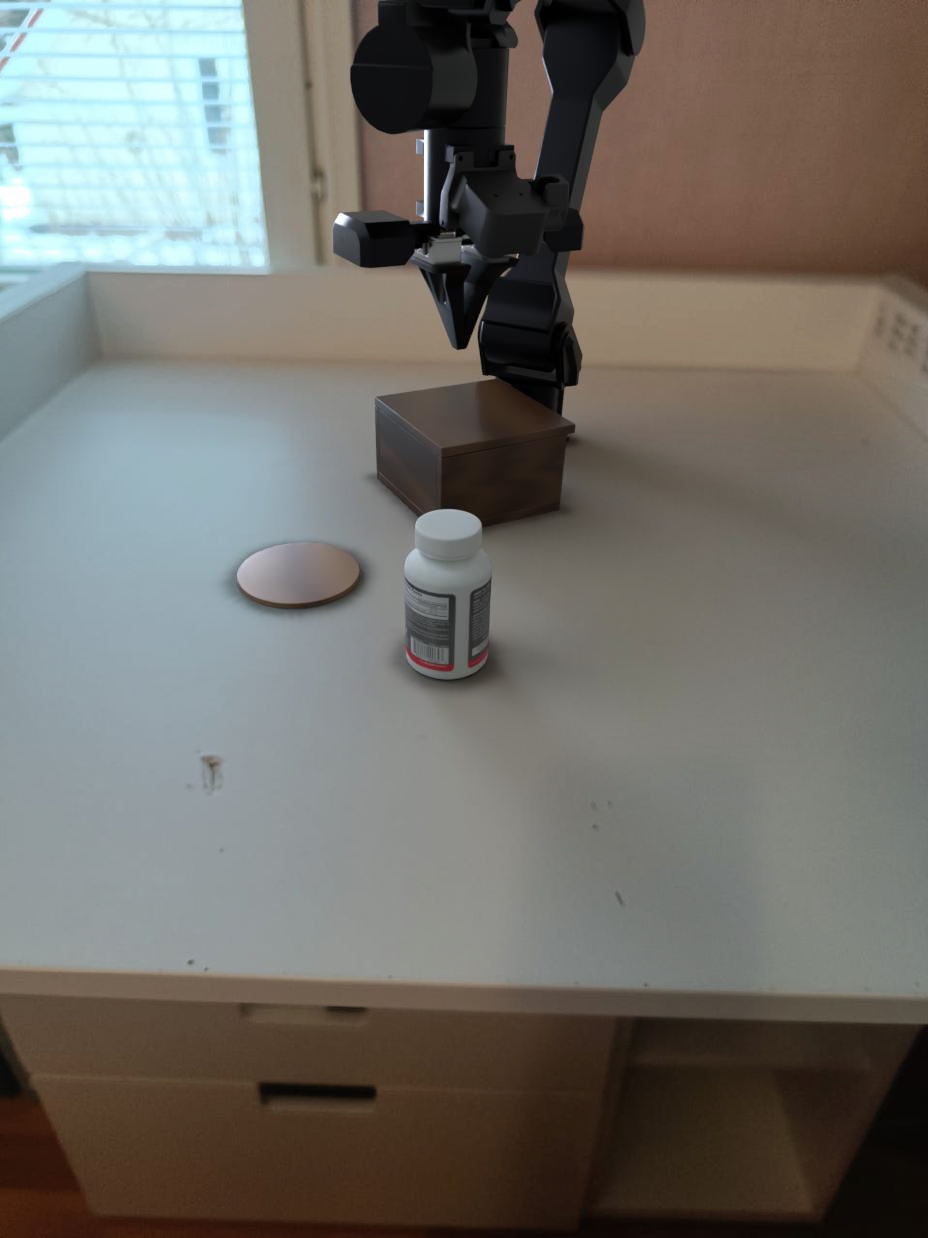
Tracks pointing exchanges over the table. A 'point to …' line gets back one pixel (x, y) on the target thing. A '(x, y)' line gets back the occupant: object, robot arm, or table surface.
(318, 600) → the coaster
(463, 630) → the pill bottle
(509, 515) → the chest
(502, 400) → the chest lid
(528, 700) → the table surface
